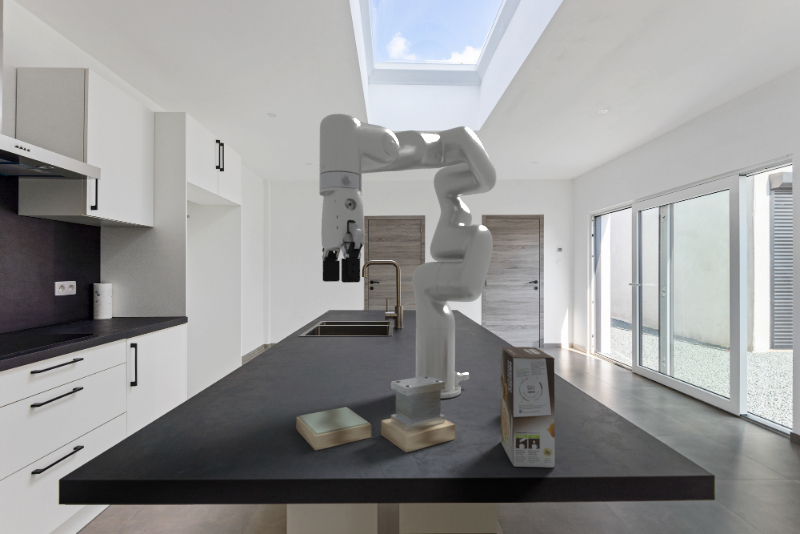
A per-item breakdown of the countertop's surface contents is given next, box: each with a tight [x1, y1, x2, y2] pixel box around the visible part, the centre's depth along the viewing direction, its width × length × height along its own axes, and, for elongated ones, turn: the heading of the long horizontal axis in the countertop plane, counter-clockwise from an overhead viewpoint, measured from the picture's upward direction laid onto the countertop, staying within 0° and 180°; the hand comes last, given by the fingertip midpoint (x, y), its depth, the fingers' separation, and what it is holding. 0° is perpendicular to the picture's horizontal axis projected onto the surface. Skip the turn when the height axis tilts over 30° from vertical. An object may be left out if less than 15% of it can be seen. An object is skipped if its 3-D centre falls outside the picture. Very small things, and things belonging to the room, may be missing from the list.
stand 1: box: [295, 406, 372, 451], centre depth 68 cm, size 10×10×2 cm
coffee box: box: [499, 346, 556, 469], centre depth 61 cm, size 9×6×16 cm
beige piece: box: [380, 417, 456, 453], centre depth 66 cm, size 10×8×2 cm
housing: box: [390, 376, 446, 432], centre depth 67 cm, size 8×5×7 cm, turn 122°
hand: (340, 281), depth 69 cm, fingers open, 9 cm apart
